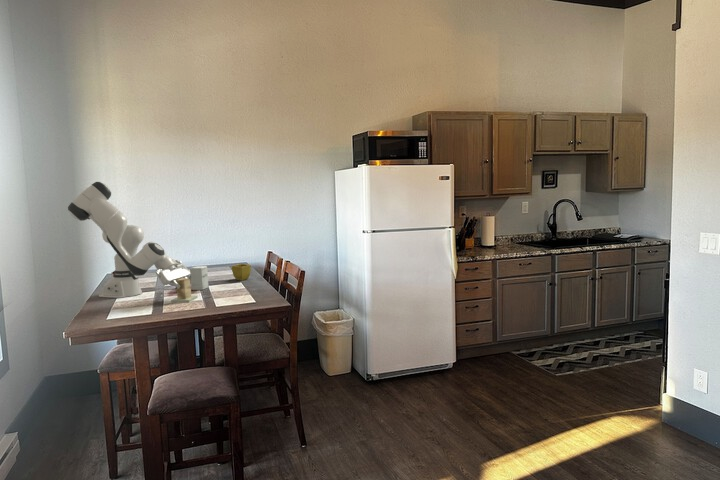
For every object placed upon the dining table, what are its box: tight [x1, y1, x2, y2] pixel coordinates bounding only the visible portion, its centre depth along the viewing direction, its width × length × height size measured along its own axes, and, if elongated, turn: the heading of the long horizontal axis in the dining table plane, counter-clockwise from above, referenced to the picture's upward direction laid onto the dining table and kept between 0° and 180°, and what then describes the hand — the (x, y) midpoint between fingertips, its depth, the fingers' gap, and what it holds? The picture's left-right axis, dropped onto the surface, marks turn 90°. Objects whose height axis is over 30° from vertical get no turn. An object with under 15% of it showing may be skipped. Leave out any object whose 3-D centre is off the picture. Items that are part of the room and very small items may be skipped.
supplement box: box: [189, 265, 209, 291], centre depth 312 cm, size 7×7×13 cm
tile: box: [170, 295, 198, 303], centre depth 284 cm, size 10×10×1 cm
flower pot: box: [231, 263, 252, 281], centre depth 335 cm, size 9×9×9 cm
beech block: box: [176, 277, 192, 299], centre depth 283 cm, size 5×5×10 cm
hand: (184, 286), depth 283 cm, fingers open, 6 cm apart
